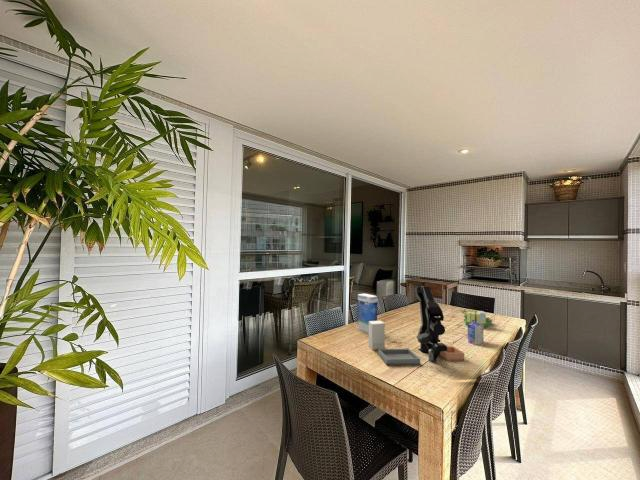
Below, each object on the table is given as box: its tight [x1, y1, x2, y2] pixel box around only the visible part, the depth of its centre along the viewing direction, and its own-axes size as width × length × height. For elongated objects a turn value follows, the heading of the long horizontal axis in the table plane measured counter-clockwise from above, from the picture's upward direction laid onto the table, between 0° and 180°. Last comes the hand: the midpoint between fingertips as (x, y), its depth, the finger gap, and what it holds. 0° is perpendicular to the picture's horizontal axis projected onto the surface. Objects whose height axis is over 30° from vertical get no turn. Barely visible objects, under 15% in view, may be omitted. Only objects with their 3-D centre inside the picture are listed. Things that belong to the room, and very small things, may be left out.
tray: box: [377, 348, 421, 366], centre depth 151 cm, size 14×18×3 cm
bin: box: [438, 345, 465, 362], centre depth 156 cm, size 10×10×4 cm
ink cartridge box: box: [467, 320, 485, 346], centre depth 180 cm, size 10×6×14 cm, turn 121°
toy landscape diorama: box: [460, 308, 493, 328], centre depth 222 cm, size 35×20×13 cm, turn 137°
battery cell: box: [428, 349, 438, 364], centre depth 150 cm, size 4×4×7 cm
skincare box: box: [368, 320, 386, 351], centre depth 167 cm, size 8×7×16 cm
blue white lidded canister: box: [357, 293, 378, 335], centre depth 199 cm, size 13×8×26 cm, turn 35°
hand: (432, 358), depth 150 cm, fingers closed on battery cell, 4 cm apart
